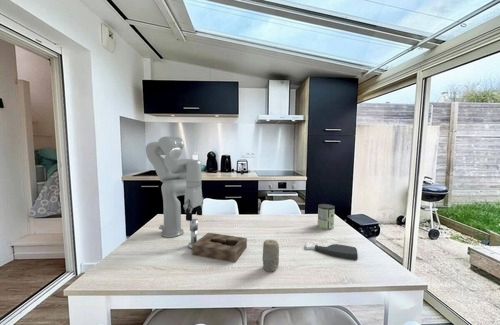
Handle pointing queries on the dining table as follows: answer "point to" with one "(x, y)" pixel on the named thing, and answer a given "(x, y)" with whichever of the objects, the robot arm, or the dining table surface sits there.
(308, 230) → the dining table surface
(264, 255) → the carving
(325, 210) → the coffee can
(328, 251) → the spray bottle
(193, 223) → the keyhole peg
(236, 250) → the keyhole board
